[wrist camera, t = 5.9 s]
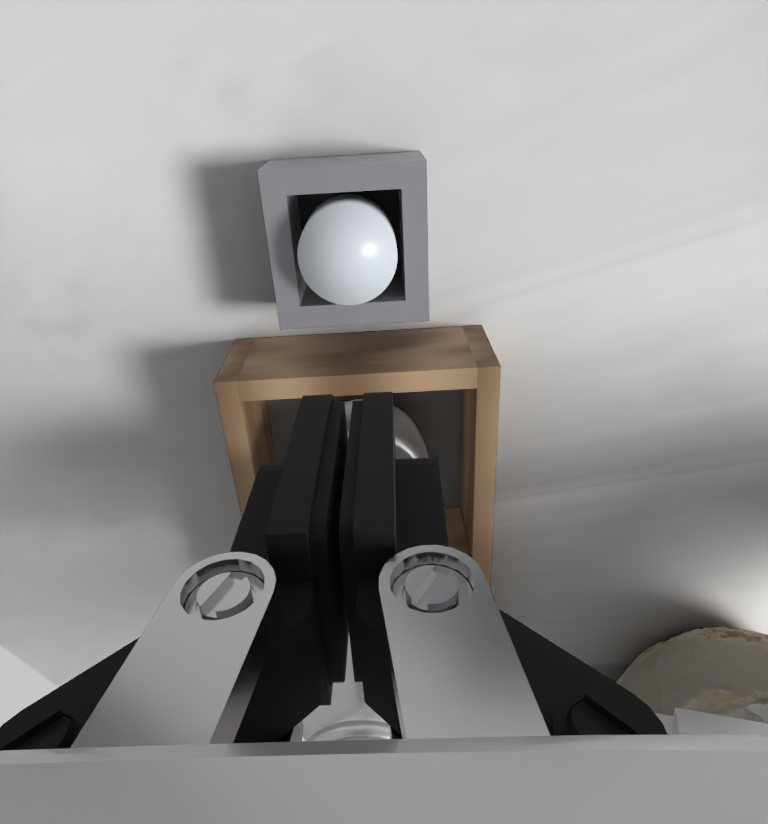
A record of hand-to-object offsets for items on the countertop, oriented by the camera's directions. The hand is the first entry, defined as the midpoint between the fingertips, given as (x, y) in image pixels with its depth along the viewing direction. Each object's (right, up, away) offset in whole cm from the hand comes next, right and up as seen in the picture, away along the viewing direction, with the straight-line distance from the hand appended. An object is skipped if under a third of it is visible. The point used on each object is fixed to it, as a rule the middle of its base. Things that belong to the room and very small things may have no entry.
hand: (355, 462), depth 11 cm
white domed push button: (-1, +8, +15) cm, 17 cm away
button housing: (-1, +9, +17) cm, 19 cm away
